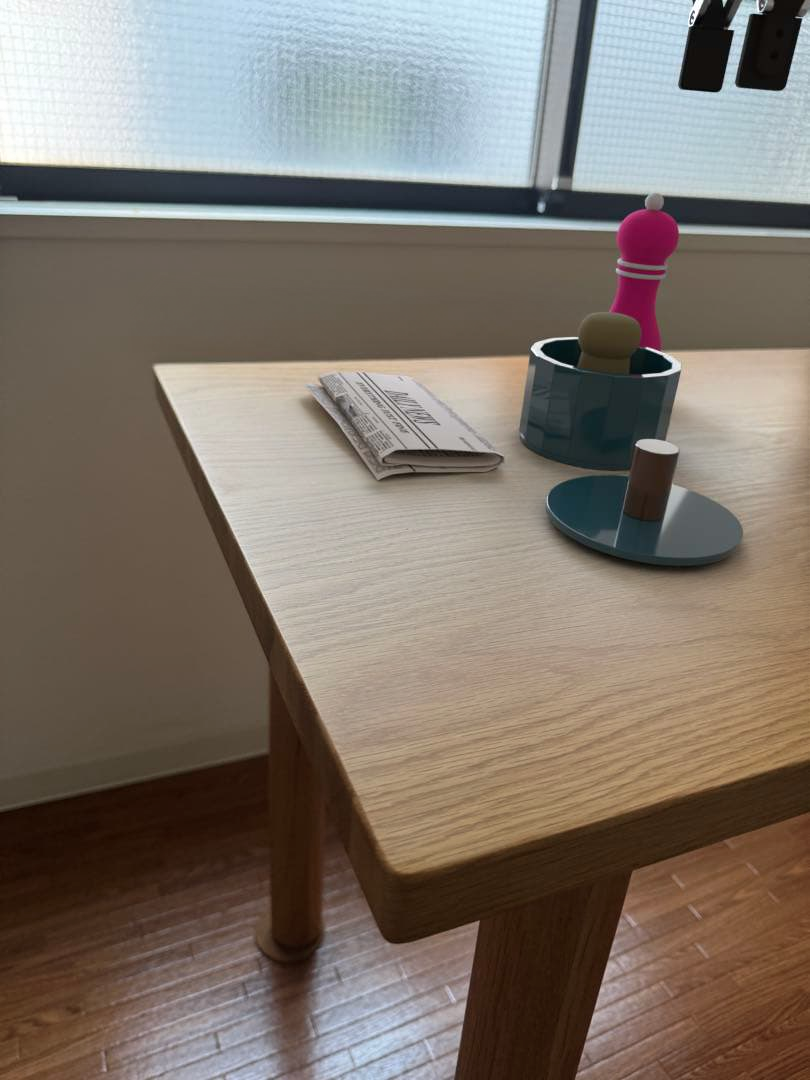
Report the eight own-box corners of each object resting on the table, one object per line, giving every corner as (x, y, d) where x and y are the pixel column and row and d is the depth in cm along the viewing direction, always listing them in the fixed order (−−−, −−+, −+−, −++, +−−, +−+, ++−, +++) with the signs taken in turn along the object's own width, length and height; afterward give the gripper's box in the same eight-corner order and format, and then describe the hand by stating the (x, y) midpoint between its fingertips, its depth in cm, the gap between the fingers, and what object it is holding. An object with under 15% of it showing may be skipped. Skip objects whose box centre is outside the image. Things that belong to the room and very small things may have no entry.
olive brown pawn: (583, 422, 80) (604, 303, 75) (638, 442, 76) (664, 318, 71) (542, 434, 76) (562, 309, 71) (598, 455, 72) (622, 325, 67)
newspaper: (298, 391, 84) (301, 366, 83) (414, 400, 88) (418, 376, 87) (360, 479, 64) (365, 448, 63) (504, 485, 69) (511, 456, 68)
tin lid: (693, 491, 68) (712, 417, 65) (774, 576, 56) (801, 489, 53) (526, 486, 66) (537, 409, 64) (572, 571, 54) (588, 482, 52)
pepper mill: (593, 376, 97) (628, 187, 87) (657, 389, 94) (699, 195, 85) (576, 391, 91) (611, 190, 82) (643, 405, 88) (687, 198, 79)
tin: (634, 423, 83) (651, 341, 79) (683, 473, 71) (705, 380, 68) (507, 417, 81) (518, 333, 78) (537, 467, 70) (551, 372, 66)
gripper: (949, -282, 44) (846, 94, 51) (786, -183, 59) (726, 95, 67) (811, -302, 43) (727, 83, 51) (682, -196, 58) (633, 87, 66)
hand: (726, 90), depth 59 cm, fingers open, 9 cm apart
